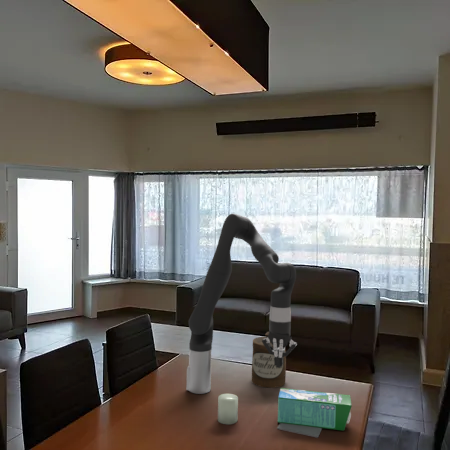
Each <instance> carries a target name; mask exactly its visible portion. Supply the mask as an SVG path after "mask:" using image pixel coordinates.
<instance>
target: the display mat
mask: <svg viewBox="0 0 450 450" xmlns="http://www.w3.org/2000/svg"><path fill="white" fill-rule="evenodd" d="M276 429H277V430H280V431H285V432H289V433H293V434H298V435H303V436H308V437H312V438H316V439H319V436H320V434H321V432H322V430H323V428H318V427H310V426H302V425H294V424H286V423H279V424H278V426H277V427H276Z"/></svg>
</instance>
